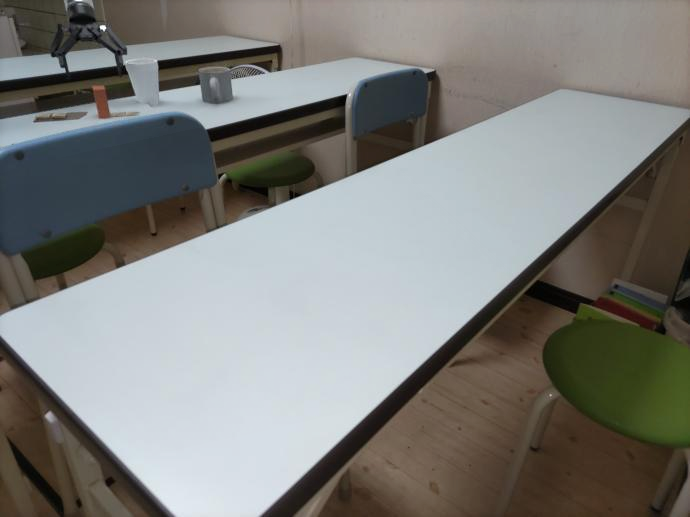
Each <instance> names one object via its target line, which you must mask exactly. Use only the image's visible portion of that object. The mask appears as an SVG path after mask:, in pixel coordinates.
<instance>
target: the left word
mask: <svg viewBox="0 0 690 517" xmlns="http://www.w3.org/2000/svg"><path fill="white" fill-rule="evenodd" d="M88 113H89V112H88V111H73V112H45V113H41V112H40V113H37V114H36V116H35V118H34V120H33V123H47V122H63V121H79V120H80V119H82V118H84V117H86V116H87V114H88Z"/></svg>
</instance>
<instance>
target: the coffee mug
mask: <svg viewBox="0 0 690 517" xmlns="http://www.w3.org/2000/svg"><path fill="white" fill-rule="evenodd" d="M198 77H199V78H198V79H199V84H200V93H201V101H202V102H203V103H207V104H225V103H229V102H232V101H233V100H234V94H233V84H232V76H231V69H230V68H229V67H225V66H207V67H202V68H199V69H198Z"/></svg>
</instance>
